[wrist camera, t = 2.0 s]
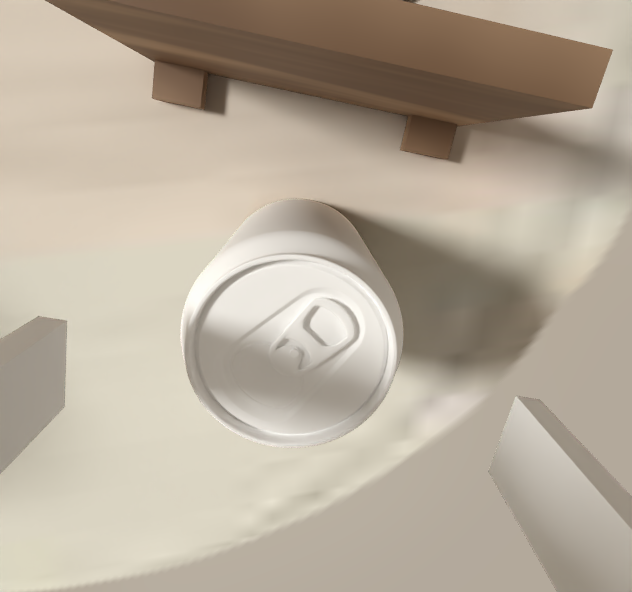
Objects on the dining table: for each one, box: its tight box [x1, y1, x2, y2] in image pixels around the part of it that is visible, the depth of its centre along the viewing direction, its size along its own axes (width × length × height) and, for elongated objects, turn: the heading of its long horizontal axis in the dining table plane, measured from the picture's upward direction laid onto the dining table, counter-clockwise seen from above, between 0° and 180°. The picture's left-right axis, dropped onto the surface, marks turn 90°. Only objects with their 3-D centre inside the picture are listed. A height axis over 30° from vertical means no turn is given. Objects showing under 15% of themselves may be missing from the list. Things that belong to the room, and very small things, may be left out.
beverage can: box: [181, 199, 403, 448], centre depth 21 cm, size 8×8×12 cm
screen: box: [45, 0, 613, 159], centre depth 18 cm, size 5×16×12 cm, turn 79°
